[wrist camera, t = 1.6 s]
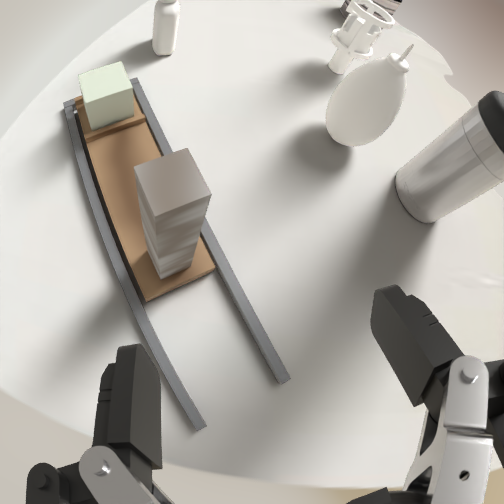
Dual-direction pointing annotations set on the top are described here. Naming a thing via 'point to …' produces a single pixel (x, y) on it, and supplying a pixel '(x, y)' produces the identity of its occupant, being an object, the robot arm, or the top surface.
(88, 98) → the block
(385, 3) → the can
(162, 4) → the eye dropper bottle
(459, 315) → the top surface
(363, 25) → the white tall plastic piece
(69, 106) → the track
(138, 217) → the wooden board with post
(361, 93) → the sauce bottle
